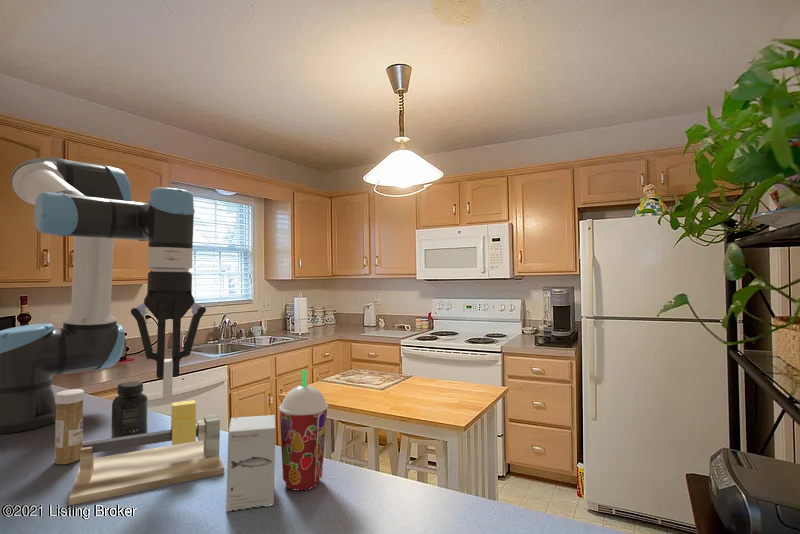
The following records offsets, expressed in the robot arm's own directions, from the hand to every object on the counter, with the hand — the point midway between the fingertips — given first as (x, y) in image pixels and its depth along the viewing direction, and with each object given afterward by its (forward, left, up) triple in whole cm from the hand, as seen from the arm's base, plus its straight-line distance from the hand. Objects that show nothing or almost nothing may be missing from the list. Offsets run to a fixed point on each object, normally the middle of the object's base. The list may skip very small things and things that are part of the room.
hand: (167, 394), depth 85 cm
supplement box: (+20, +12, -14) cm, 27 cm away
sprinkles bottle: (-12, -16, -14) cm, 25 cm away
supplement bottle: (-20, -6, -14) cm, 25 cm away
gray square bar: (0, -2, -9) cm, 9 cm away
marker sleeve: (0, +3, -9) cm, 9 cm away
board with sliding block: (0, -2, -14) cm, 14 cm away
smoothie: (+19, +21, -14) cm, 31 cm away
